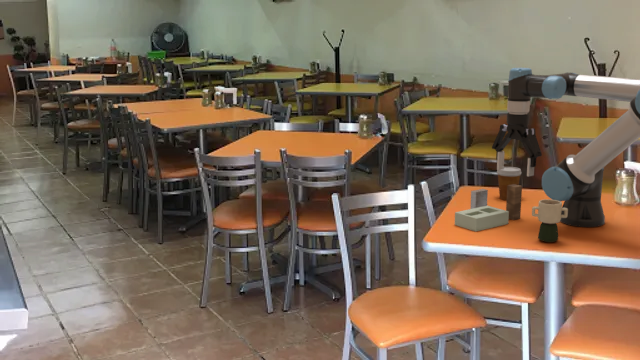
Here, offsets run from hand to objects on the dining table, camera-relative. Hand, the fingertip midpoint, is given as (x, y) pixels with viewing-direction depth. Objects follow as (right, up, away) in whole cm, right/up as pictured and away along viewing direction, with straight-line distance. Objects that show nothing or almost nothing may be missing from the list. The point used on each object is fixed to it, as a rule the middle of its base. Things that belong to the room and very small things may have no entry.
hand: (514, 172), depth 258 cm
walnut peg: (0, -16, +4) cm, 17 cm away
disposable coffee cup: (+6, -10, +32) cm, 34 cm away
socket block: (-13, -18, -4) cm, 22 cm away
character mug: (+4, -22, -23) cm, 32 cm away
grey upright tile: (-11, -15, +9) cm, 21 cm away
